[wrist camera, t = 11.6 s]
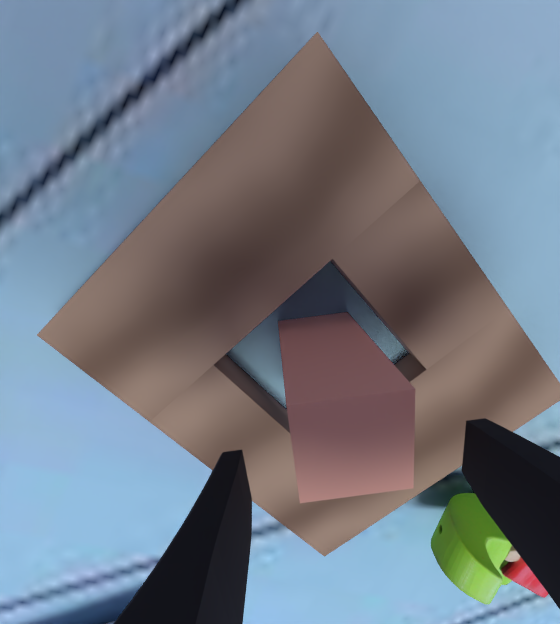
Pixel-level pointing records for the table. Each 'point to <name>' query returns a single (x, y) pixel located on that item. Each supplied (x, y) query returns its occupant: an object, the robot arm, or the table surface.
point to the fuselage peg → (345, 410)
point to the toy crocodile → (478, 551)
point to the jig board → (286, 281)
